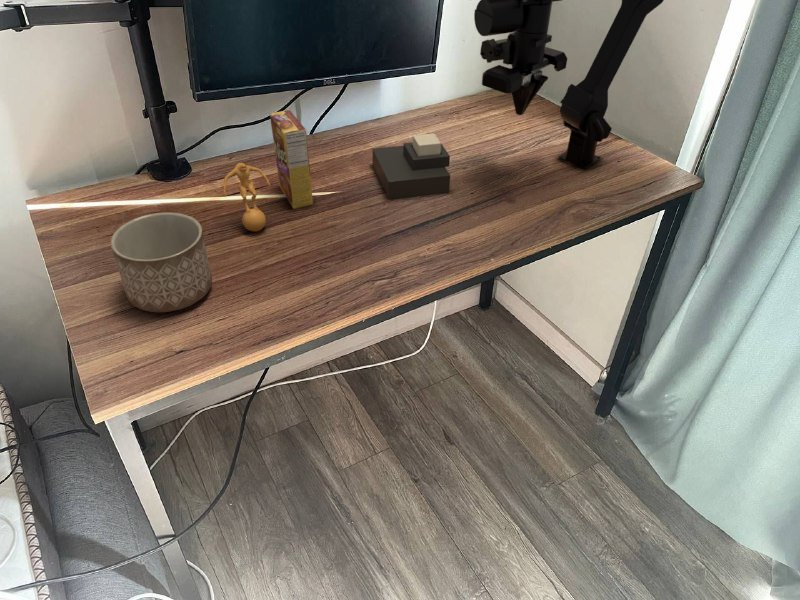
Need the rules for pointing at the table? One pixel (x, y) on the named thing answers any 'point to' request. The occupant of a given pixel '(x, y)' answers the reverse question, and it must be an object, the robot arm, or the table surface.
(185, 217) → the planter
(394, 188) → the stepped base
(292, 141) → the candy box
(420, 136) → the cream block
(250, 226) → the figure on ball
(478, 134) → the table surface
